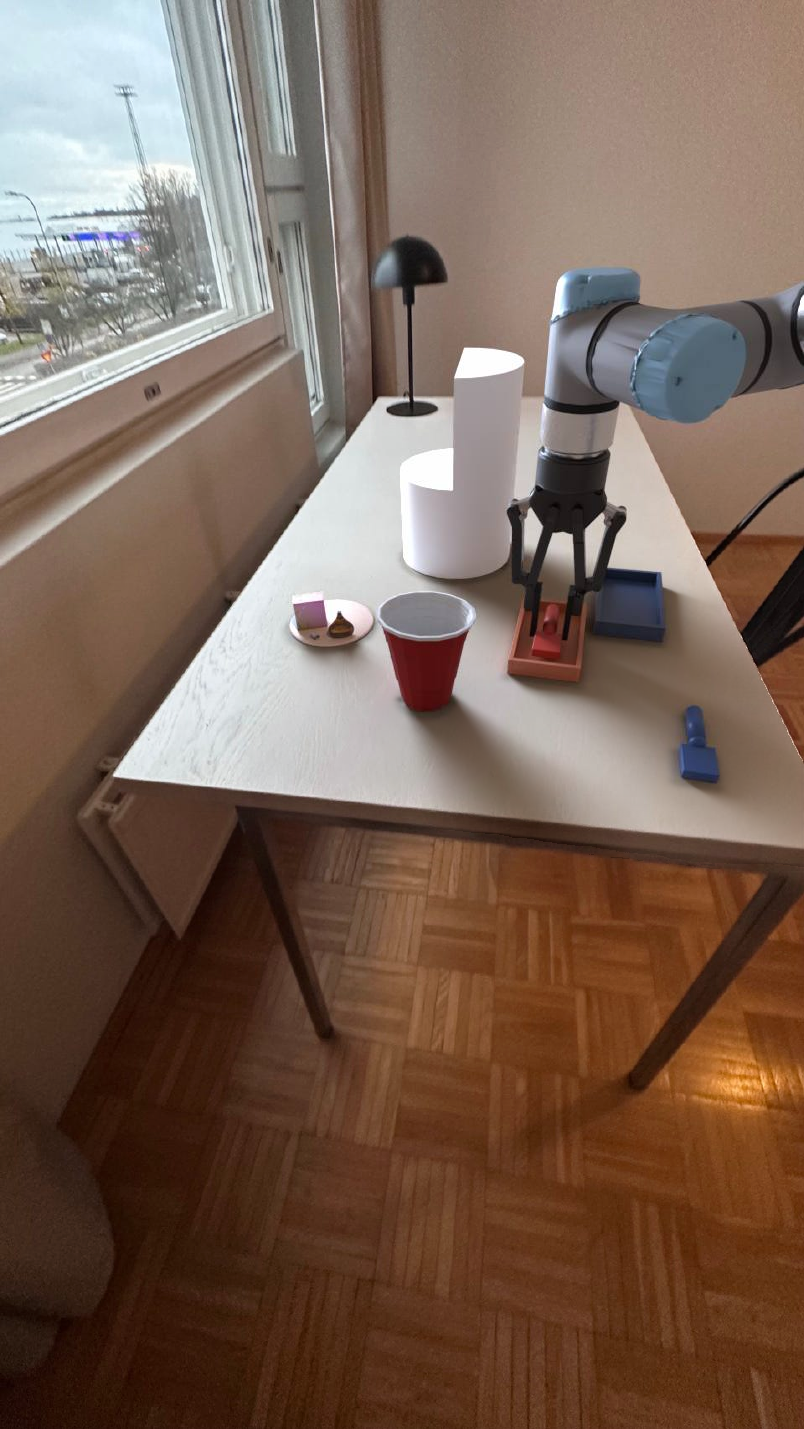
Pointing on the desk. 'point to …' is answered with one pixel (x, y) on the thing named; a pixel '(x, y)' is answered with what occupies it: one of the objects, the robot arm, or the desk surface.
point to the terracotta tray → (540, 666)
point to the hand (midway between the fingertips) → (549, 632)
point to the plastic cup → (425, 644)
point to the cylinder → (467, 474)
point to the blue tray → (630, 605)
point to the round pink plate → (328, 620)
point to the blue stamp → (697, 750)
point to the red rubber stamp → (548, 636)
